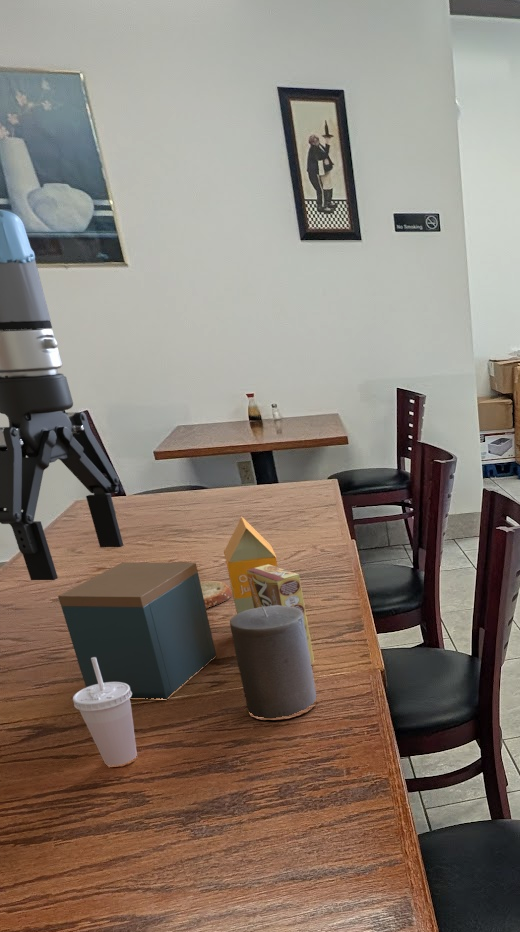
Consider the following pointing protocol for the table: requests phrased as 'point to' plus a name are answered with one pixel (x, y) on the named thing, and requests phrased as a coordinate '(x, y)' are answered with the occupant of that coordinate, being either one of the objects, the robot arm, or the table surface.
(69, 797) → the table surface
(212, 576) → the table surface
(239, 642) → the pillar candle
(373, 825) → the table surface
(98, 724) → the smoothie
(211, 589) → the slice of bread
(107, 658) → the lidded gift box
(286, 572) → the candy box
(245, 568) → the orange juice
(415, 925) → the table surface
